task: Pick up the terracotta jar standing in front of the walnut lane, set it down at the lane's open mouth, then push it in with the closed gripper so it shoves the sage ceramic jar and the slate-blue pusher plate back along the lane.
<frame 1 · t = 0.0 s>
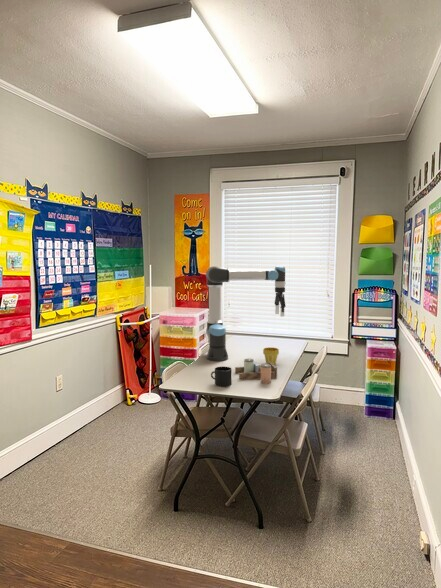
hand: (279, 315, 305), 28 cm above the table, fingers open, 13 cm apart
clay jar: (265, 382, 233), on the table
lane: (255, 375, 246), on the table
pusher: (257, 369, 246), point 4 cm above the table, slide at 0.0 cm
sage jar: (248, 375, 245), on the table
mug: (220, 384, 229), on the table
plant pot: (270, 363, 274), on the table
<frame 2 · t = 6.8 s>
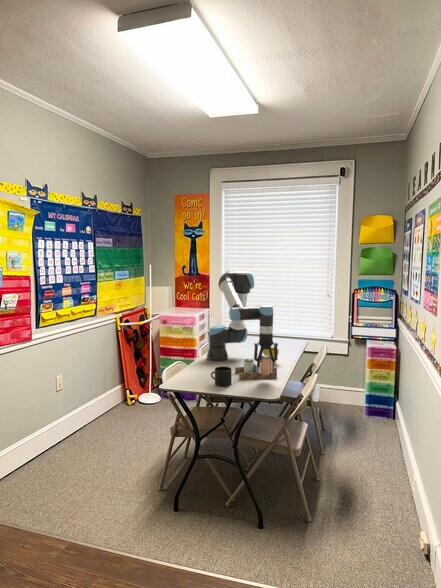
hand: (265, 372, 233), 6 cm above the table, fingers closed on clay jar, 6 cm apart
clay jar: (265, 373, 233), point 5 cm above the table, touching gripper
everything else where it was.
when the fingers open (1 cm above the table, at t = 10.9 s): clay jar stays where it is, on the table.
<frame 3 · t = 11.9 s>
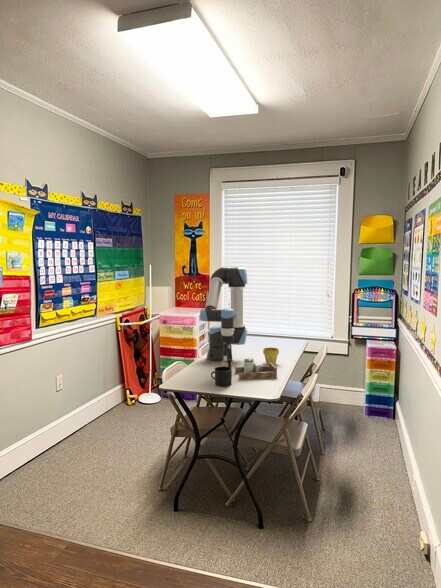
hand: (227, 369, 244), 4 cm above the table, fingers open, 13 cm apart
clay jar: (226, 376, 243), on the table
everything else where it was.
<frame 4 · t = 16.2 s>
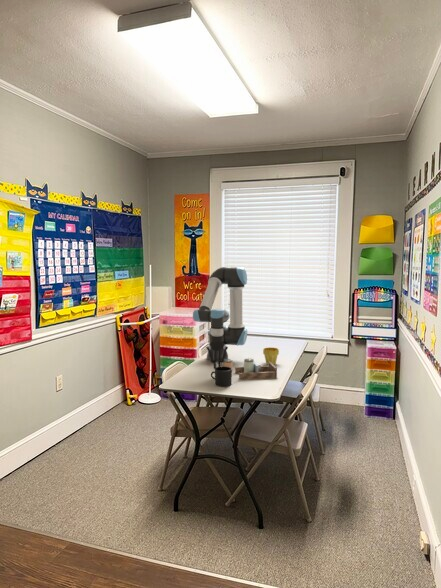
hand: (216, 374, 242), 2 cm above the table, fingers closed
clay jar: (226, 376, 243), on the table, touching gripper, hand
everything else where it was.
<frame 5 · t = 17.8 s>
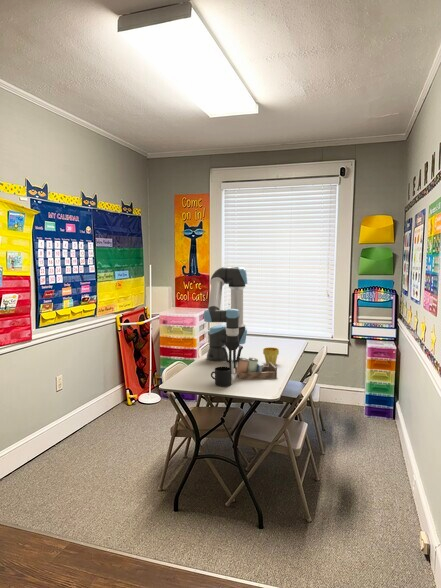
hand: (232, 373, 244), 2 cm above the table, fingers closed
clay jar: (241, 374, 245), point 1 cm above the table, tilted 9°, touching hand, sage jar
pusher: (260, 368, 246), point 4 cm above the table, slide at 2.0 cm, touching sage jar
sage jar: (250, 374, 246), on the table, tilted 9°, touching clay jar, pusher
everything else where it was.
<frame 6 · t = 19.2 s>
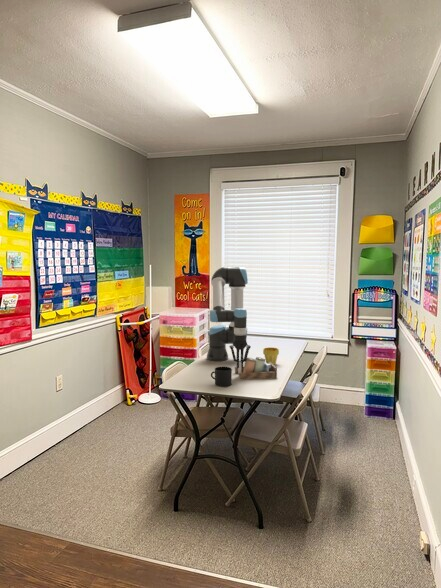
hand: (239, 372, 244), 2 cm above the table, fingers closed
clay jar: (247, 374, 245), point 1 cm above the table, tilted 13°, touching gripper, hand, sage jar
pusher: (267, 368, 247), point 4 cm above the table, slide at 6.4 cm, touching sage jar
sage jar: (257, 374, 246), point 1 cm above the table, tilted 13°, touching clay jar, pusher
everything else where it was.
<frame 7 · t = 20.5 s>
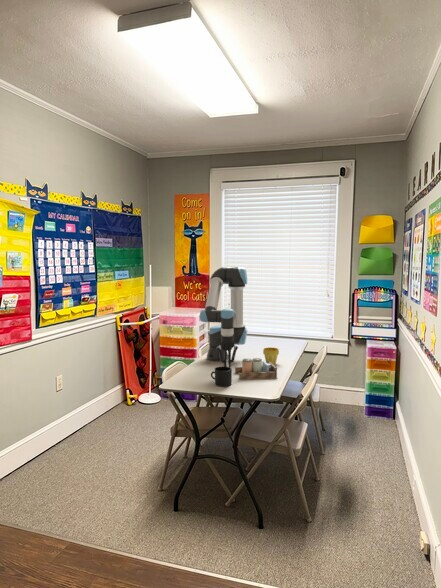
hand: (227, 373, 243), 2 cm above the table, fingers closed
clay jar: (247, 375, 245), on the table
pusher: (267, 368, 247), point 4 cm above the table, slide at 6.5 cm
sage jar: (257, 375, 246), on the table
everything else where it was.
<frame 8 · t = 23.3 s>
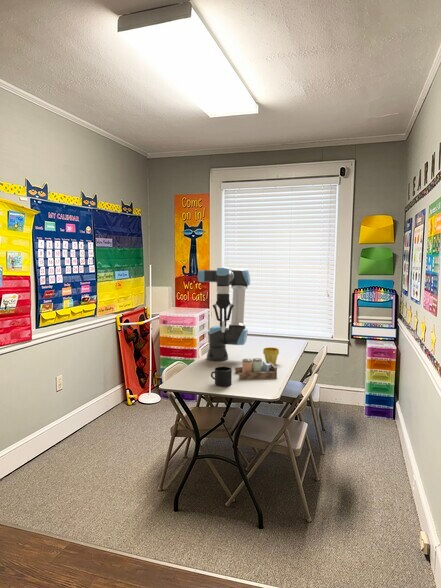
hand: (223, 332, 245), 26 cm above the table, fingers closed
nothing on the table moved.
at the end: clay jar inside the target area (0.9 cm from its centre), on the table; pusher slide at 6.5 cm; sage jar tilted 1° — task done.
